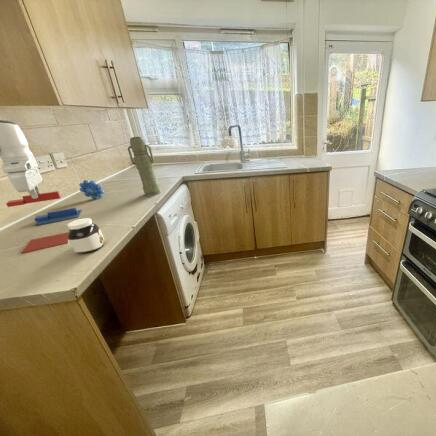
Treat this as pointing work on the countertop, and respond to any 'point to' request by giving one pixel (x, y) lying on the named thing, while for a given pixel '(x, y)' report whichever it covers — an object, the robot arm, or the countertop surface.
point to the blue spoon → (57, 214)
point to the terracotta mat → (46, 242)
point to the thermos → (144, 165)
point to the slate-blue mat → (59, 218)
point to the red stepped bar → (30, 200)
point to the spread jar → (85, 236)
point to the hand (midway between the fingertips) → (36, 197)
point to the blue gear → (91, 189)
